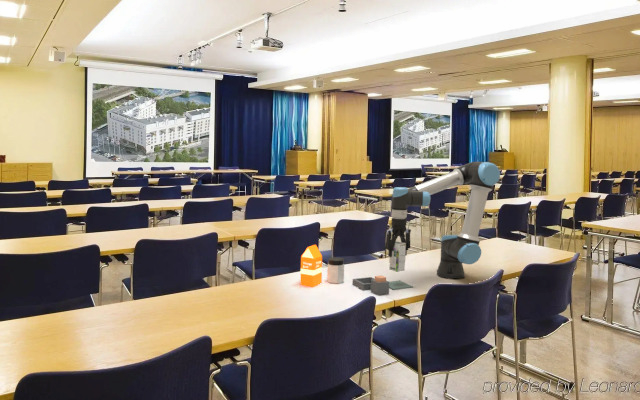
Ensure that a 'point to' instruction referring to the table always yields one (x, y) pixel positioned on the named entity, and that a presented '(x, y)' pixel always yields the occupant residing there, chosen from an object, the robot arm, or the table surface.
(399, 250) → the syrup box
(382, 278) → the peach square block
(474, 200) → the robot arm
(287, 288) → the table surface
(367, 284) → the frame
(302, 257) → the orange juice
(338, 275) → the jar
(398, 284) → the rubber mat
